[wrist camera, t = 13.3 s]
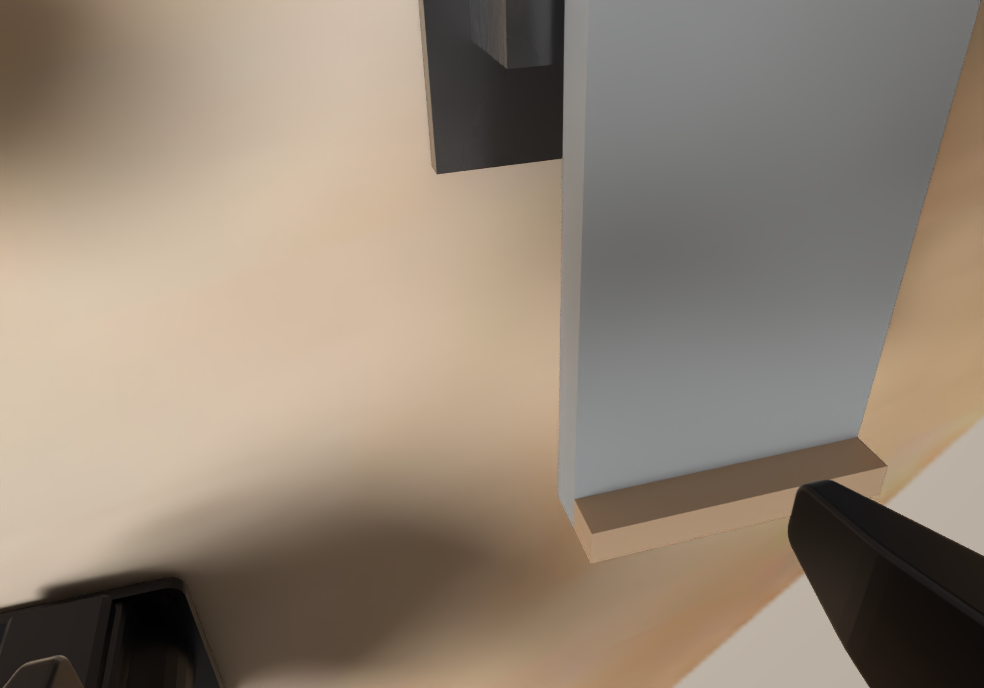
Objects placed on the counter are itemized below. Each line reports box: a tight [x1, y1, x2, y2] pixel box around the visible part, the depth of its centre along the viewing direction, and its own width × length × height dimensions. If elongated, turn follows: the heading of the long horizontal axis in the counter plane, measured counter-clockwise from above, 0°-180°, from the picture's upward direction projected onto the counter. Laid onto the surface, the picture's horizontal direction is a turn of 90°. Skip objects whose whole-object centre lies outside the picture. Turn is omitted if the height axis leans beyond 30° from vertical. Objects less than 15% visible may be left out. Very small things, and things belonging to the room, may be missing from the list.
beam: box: [558, 0, 981, 564], centre depth 14 cm, size 22×8×2 cm, turn 2°
